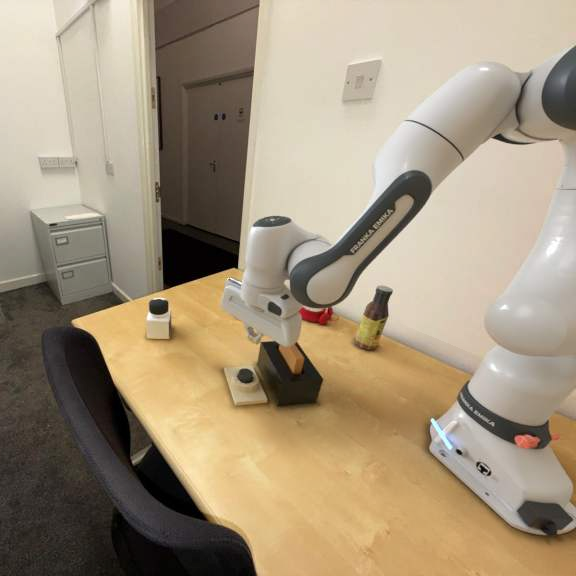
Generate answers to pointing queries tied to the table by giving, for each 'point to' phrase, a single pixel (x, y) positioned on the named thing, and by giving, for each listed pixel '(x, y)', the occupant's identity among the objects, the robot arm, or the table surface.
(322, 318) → the alarm clock
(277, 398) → the toaster
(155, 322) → the medicine bottle
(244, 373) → the button
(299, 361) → the toast
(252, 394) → the control block
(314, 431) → the table surface
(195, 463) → the table surface
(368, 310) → the sauce bottle
